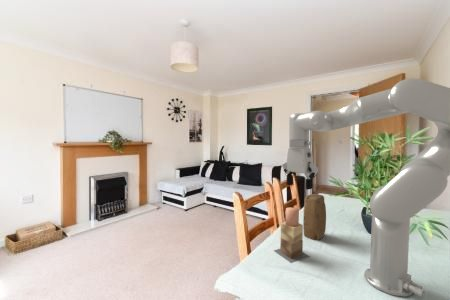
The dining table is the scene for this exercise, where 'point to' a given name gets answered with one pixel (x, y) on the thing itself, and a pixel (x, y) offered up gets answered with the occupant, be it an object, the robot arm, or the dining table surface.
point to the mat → (293, 258)
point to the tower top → (291, 233)
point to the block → (314, 216)
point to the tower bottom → (291, 248)
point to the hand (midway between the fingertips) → (299, 186)
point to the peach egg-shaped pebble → (292, 217)
